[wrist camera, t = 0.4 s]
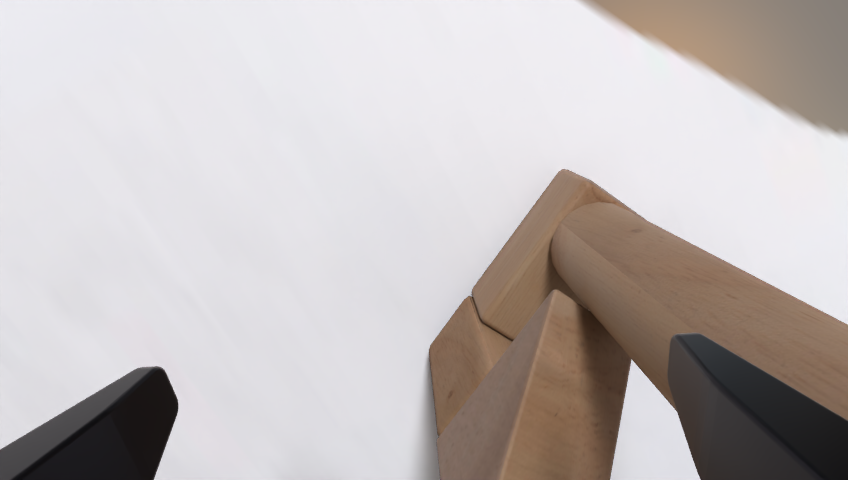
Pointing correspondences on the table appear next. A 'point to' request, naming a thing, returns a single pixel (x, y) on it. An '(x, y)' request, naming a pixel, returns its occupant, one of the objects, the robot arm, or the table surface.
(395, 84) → the table surface
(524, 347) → the wooden block
